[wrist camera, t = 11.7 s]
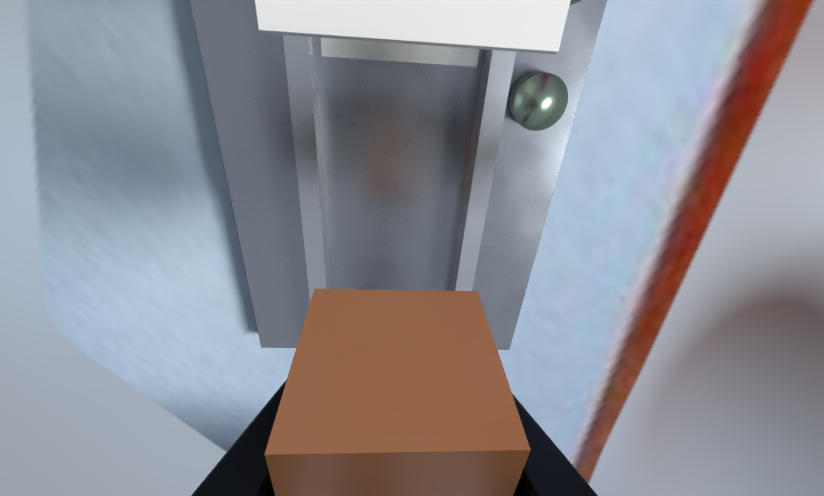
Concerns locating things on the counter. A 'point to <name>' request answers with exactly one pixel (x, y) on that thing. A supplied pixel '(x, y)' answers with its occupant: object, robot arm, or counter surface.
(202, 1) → the panel
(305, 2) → the plate
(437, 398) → the orange cube
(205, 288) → the counter surface
